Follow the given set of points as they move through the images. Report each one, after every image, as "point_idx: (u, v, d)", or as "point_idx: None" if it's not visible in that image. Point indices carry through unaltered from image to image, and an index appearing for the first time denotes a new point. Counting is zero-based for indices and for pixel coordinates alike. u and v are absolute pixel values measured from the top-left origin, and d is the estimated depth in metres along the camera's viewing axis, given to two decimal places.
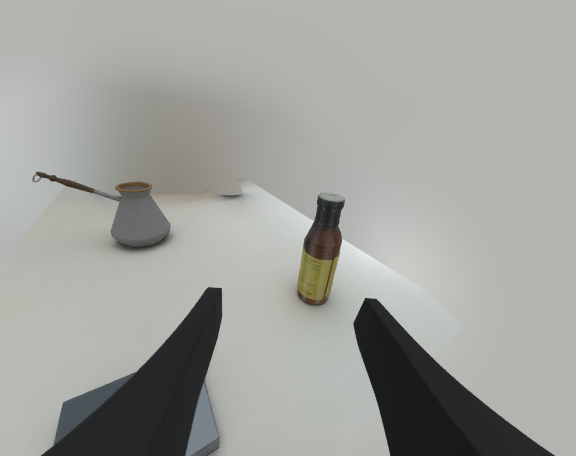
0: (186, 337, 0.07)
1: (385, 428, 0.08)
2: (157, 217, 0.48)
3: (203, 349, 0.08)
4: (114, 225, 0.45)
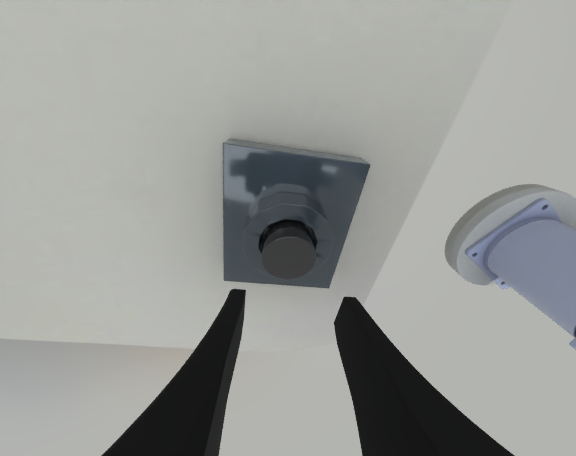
0: (220, 338, 0.07)
1: (359, 428, 0.08)
2: None
3: (233, 350, 0.08)
4: None
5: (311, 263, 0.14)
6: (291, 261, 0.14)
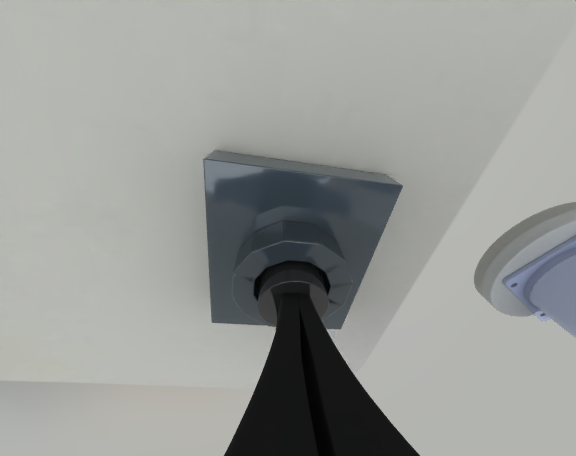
0: (289, 341, 0.08)
1: None
2: None
3: None
4: None
5: (322, 311, 0.11)
6: None
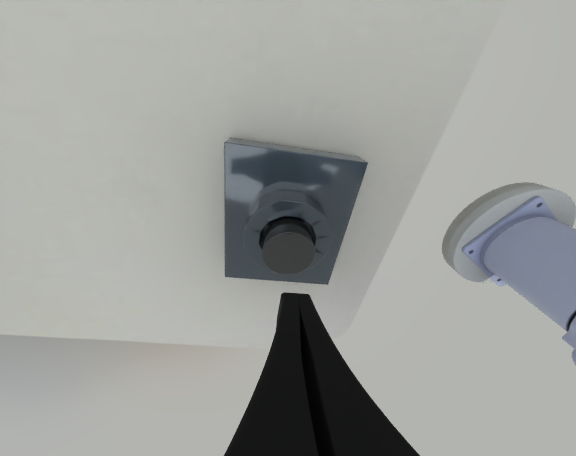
0: (289, 341, 0.08)
1: None
2: None
3: None
4: None
5: (310, 258, 0.15)
6: (291, 256, 0.14)
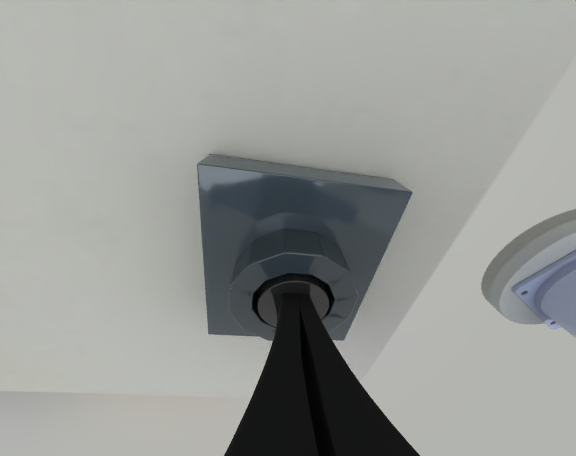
0: (289, 341, 0.08)
1: None
2: None
3: None
4: None
5: (322, 311, 0.11)
6: None
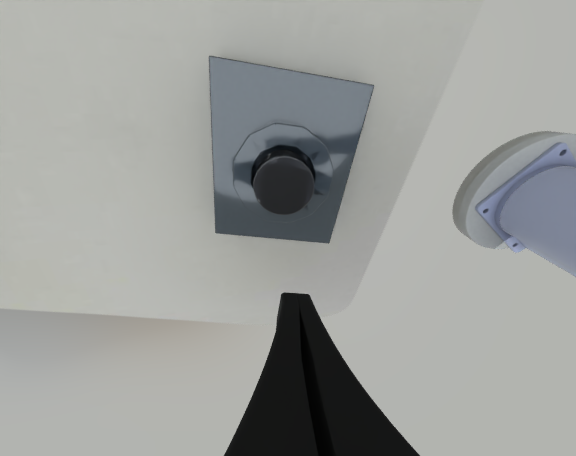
0: (289, 341, 0.08)
1: None
2: None
3: None
4: None
5: (309, 193, 0.13)
6: (286, 190, 0.13)
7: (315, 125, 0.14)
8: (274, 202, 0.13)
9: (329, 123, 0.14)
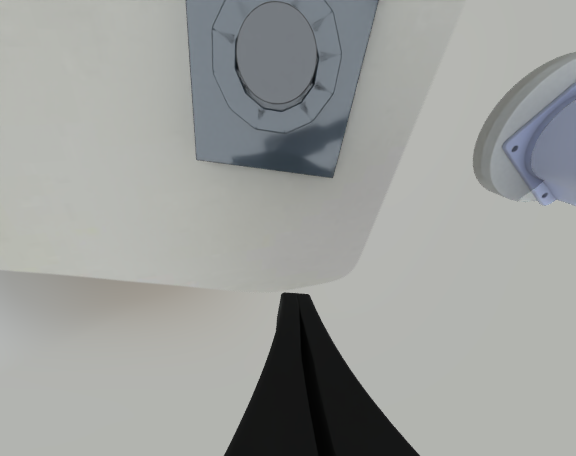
0: (289, 341, 0.08)
1: None
2: None
3: None
4: None
5: (310, 68, 0.10)
6: (281, 62, 0.10)
7: None
8: (264, 82, 0.10)
9: None
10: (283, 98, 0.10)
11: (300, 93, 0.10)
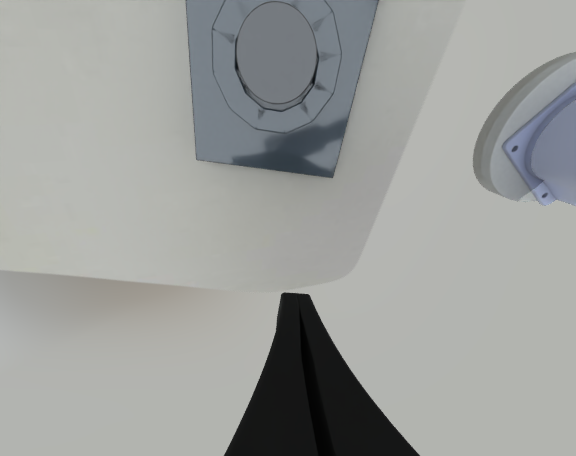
0: (289, 341, 0.08)
1: None
2: None
3: None
4: None
5: (310, 68, 0.10)
6: (281, 62, 0.10)
7: None
8: (264, 82, 0.10)
9: None
10: (283, 98, 0.10)
11: (300, 93, 0.10)
